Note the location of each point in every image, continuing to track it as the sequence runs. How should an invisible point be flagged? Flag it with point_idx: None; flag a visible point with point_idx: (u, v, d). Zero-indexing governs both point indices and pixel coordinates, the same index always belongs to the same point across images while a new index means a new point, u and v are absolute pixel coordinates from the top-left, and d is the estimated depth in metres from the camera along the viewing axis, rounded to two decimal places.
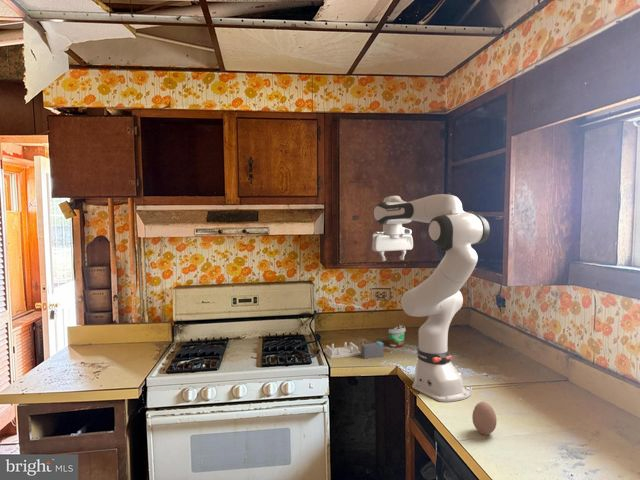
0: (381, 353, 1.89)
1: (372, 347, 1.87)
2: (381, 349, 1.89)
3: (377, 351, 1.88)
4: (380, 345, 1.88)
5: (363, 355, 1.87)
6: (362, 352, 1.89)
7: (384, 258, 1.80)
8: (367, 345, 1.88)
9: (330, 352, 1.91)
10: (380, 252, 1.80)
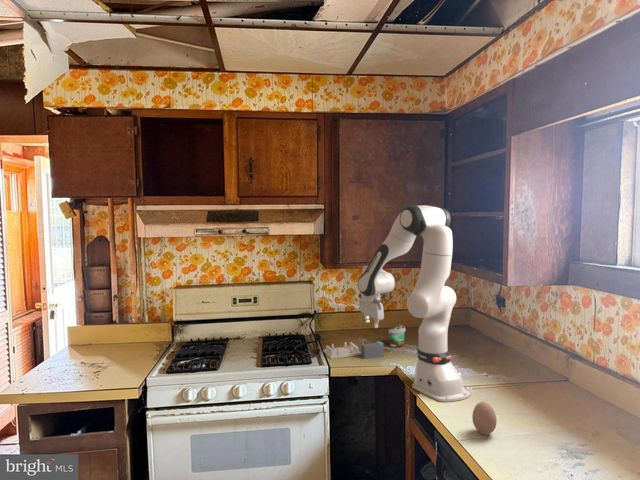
0: (381, 353, 1.89)
1: (372, 347, 1.87)
2: (381, 349, 1.89)
3: (377, 351, 1.88)
4: (380, 345, 1.88)
5: (363, 355, 1.87)
6: (362, 352, 1.89)
7: None
8: (367, 345, 1.88)
9: (330, 352, 1.91)
10: (377, 320, 1.83)
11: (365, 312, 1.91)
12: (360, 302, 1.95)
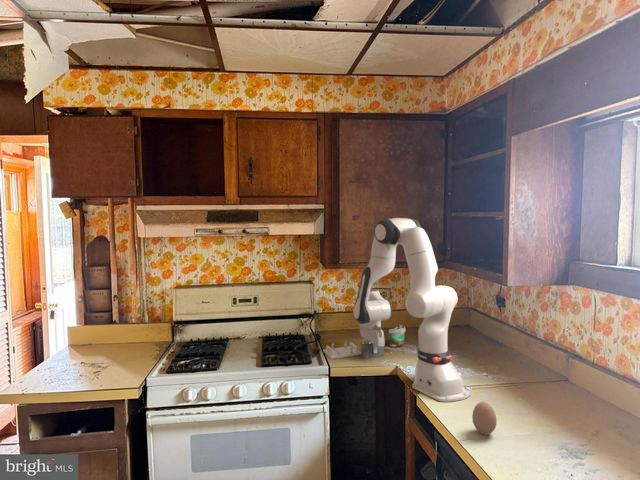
0: (381, 353, 1.89)
1: (372, 347, 1.87)
2: (381, 349, 1.89)
3: (377, 350, 1.88)
4: None
5: (363, 355, 1.87)
6: (362, 352, 1.89)
7: None
8: (367, 344, 1.88)
9: (330, 352, 1.91)
10: (376, 345, 1.85)
11: (366, 338, 1.91)
12: (361, 327, 1.96)
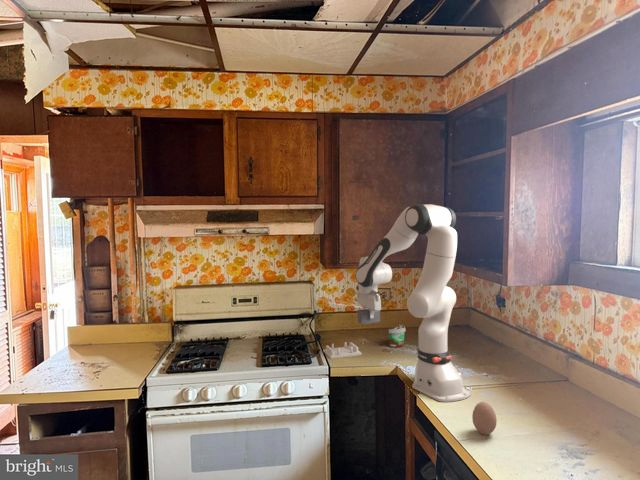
0: (378, 318, 1.89)
1: (369, 312, 1.87)
2: (378, 314, 1.89)
3: (374, 316, 1.88)
4: None
5: (360, 320, 1.87)
6: (358, 317, 1.89)
7: None
8: (364, 310, 1.88)
9: (330, 352, 1.91)
10: (372, 310, 1.85)
11: (362, 304, 1.91)
12: (358, 294, 1.96)
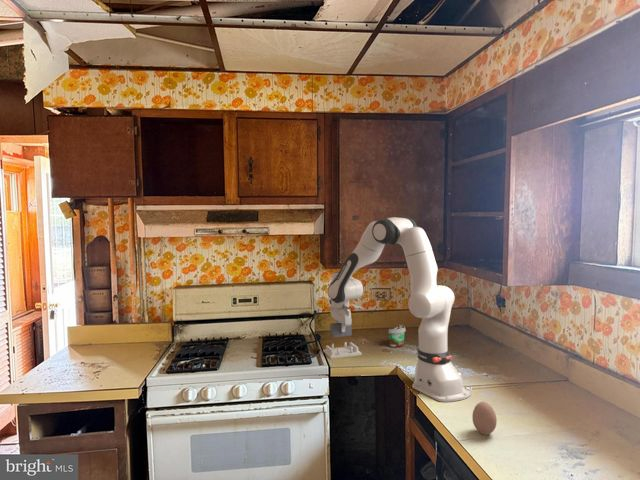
0: (349, 332, 1.94)
1: (340, 326, 1.93)
2: (349, 328, 1.94)
3: (345, 330, 1.94)
4: None
5: (332, 334, 1.93)
6: (331, 331, 1.94)
7: None
8: (336, 324, 1.94)
9: (330, 352, 1.91)
10: (344, 324, 1.90)
11: (335, 318, 1.97)
12: (331, 308, 2.01)
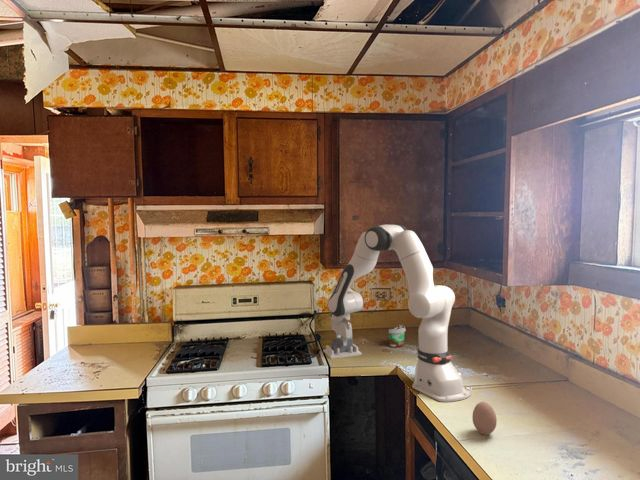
0: None
1: (341, 342, 1.93)
2: (350, 344, 1.94)
3: (346, 345, 1.94)
4: (349, 340, 1.94)
5: None
6: (332, 347, 1.94)
7: None
8: (337, 340, 1.94)
9: (330, 352, 1.91)
10: None
11: (336, 330, 1.97)
12: (332, 320, 2.02)
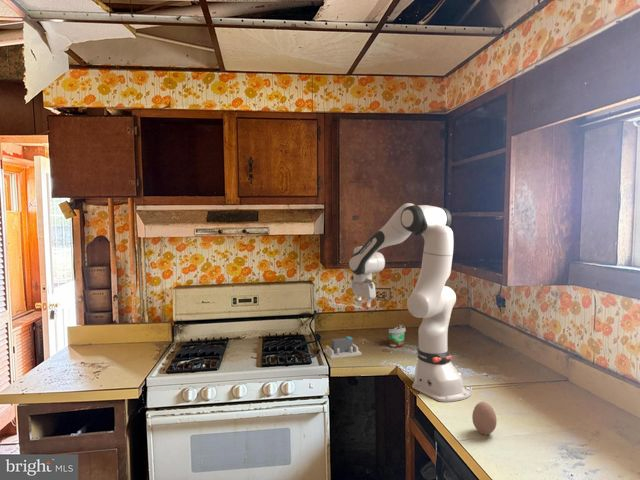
0: None
1: (341, 342, 1.93)
2: (350, 344, 1.94)
3: (346, 345, 1.94)
4: (349, 340, 1.94)
5: None
6: (332, 347, 1.94)
7: None
8: (337, 340, 1.94)
9: (330, 352, 1.91)
10: (369, 299, 1.88)
11: (358, 293, 1.96)
12: (353, 284, 2.01)
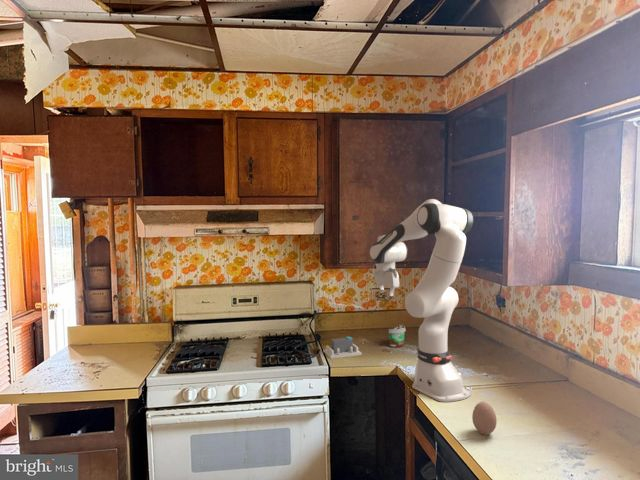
0: None
1: (341, 342, 1.93)
2: (350, 344, 1.94)
3: (346, 345, 1.94)
4: (349, 340, 1.94)
5: None
6: (332, 347, 1.94)
7: None
8: (337, 340, 1.94)
9: (330, 352, 1.91)
10: (392, 288, 1.88)
11: (380, 282, 1.96)
12: (375, 273, 2.01)
